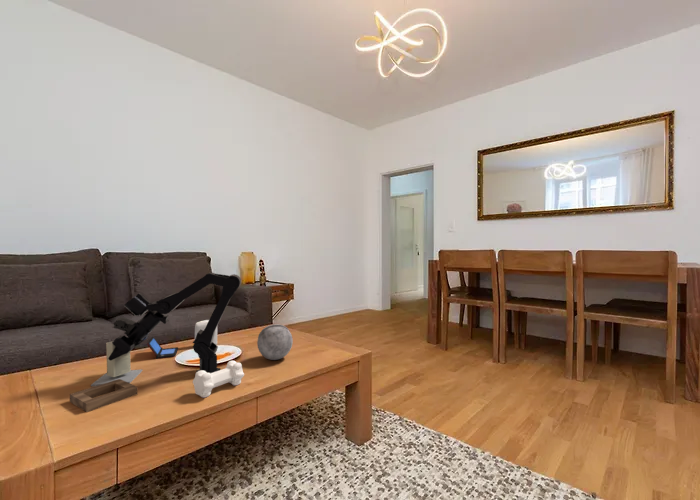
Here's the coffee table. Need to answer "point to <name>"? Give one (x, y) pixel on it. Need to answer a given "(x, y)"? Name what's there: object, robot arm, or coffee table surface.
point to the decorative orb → (274, 341)
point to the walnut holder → (89, 403)
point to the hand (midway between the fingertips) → (114, 356)
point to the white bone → (217, 378)
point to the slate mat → (118, 377)
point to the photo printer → (202, 326)
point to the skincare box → (117, 362)
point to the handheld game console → (161, 350)
